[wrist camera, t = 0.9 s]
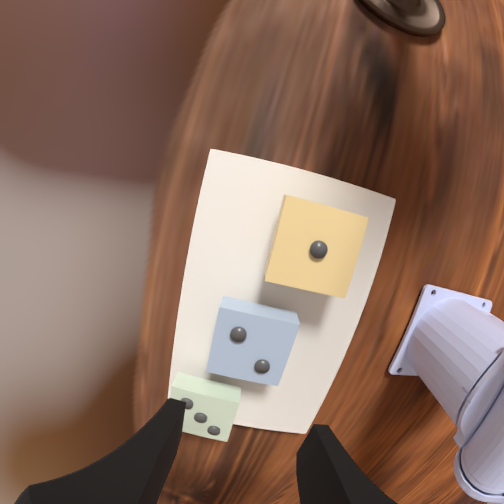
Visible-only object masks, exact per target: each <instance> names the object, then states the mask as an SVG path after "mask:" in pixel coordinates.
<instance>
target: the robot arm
mask: <svg viewBox="0 0 504 504" xmlns="http://www.w3.org/2000/svg"><path fill="white" fill-rule="evenodd" d="M433 290H434V291H433ZM432 291H433V293H432V294H431V292H432ZM491 308H492V302H491V301H490V300H487V299H483V298H479V297H475V296H472V295H468V294H464V293H460V292H456V291H453V290H449V289H445V288H441V287H437V286H433V285H430V284H427V285H425V286H424V287H423V289H422V292H421V294H420V297H419V300H418V302H417V305H416V308H415V310H414V313H413V315H412V318H411V320H410V323H409V325H408V327H407V330H406V332H405V334H404V337H403V339H402V341H401V343H400V345H399V348H398V350H397V352H396V354H395V356H394V358H393V360H392V362H391V364H390V366H389V369H388V371H389V372H390V374H392V375H411V376H419V377H420V378H421V379H422V381H423V382H424V383H425V385H426V386H427V387H428V389H429V390H430V391H431V393H432V394H433V395H434V397H435V398H436V399H437V401H438V402H439V403H440V405H441V406H442V407H443V409H444V410H445V411H446V413H447V414H448V416H449V417H450V418H451V420H452V421H453V423H454V424H455V425H456V427H457V428H458V430H457V433H456V434H455V436H454V438H453V439H454V440H455V442H456V443H457V445H458V446H459V450H458V451H457V453H456V456H455V459H454V474H455V477H456V480H457V482H458V484H459V485H460V487H461V488H462V490H463V491H464V492H465V493H466V494H468V495H469V496H470V497H472V498H474V499H476V500H479V501H483V502H494V503H499V504H504V322H503V321H502V320H500V319H499V318H497V317H495V316H494V315H492V314H491V313H490V310H491ZM399 368H400V369H399ZM398 369H399V370H398ZM185 407H186V402H184V401H180V400H177V399H173V398H169V399H167V400H166V402H165V403H164V405H163V406H162V407H161V408H160V409H159V411H158V412H157V413H156V414H155V415H154V416H153V417H152V418H151V419H150V420H149V421H148V422H147V423H146V424H145V425H144V426H143V427H142V428H141V429H140V430H139V431H138V432H137V433H136V434H134V435H133V436H132V437H131V438H130V439H129V440H127V441H126V442H125V443H124V444H122V445H121V446H119V447H118V448H117V449H116V450H114V451H113V452H111V453H109V454H108V455H106V456H105V457H103V458H101V459H100V460H98V461H96V462H94V463H92V464H90V465H89V466H87V467H84V468H83V469H80V470H78V471H75V472H73V473H70V474H68V475H65V476H62V477H60V478H57V479H53V480H50V481H46V482H42V483H38V484H33V485H29V486H28V487H27V488H26V489H25V490H24V491H23V492H22V493H21V495H20V496H19V497H18V499H17V500H16V502H15V504H156V503H157V501H158V498H159V495H160V493H161V490H162V488H163V485H164V483H165V481H166V478H167V476H168V473H169V471H170V468H171V466H172V463H173V461H174V459H175V456H176V453H177V449H178V446H179V442H180V438H181V435H182V428H183V421H184V414H185ZM296 474H297V482H298V490H299V497H300V504H397V503H396V502H394V501H393V500H392V499H391V498H389V497H388V496H387V495H386V494H384V493H383V492H382V491H381V490H380V489H379V488H378V487H377V486H376V485H375V484H374V483H373V482H372V481H371V480H370V479H369V478H368V477H367V476H366V475H365V474H364V473H363V472H362V471H361V469H360V468H359V467H358V466H357V465H356V463H355V462H354V461H353V459H352V458H351V457H350V456H349V454H348V453H347V452H346V450H345V449H344V447H343V446H342V445H341V443H340V442H339V440H338V439H337V438H336V436H335V435H334V433H333V432H332V430H331V429H330V427H329V426H328V425H318V424H313V426H312V428H311V430H310V432H309V433H308V435H307V437H306V438H305V440H304V442H303V444H302V445H301V447H300V449H299V450H298V452H297V463H296Z"/></svg>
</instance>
